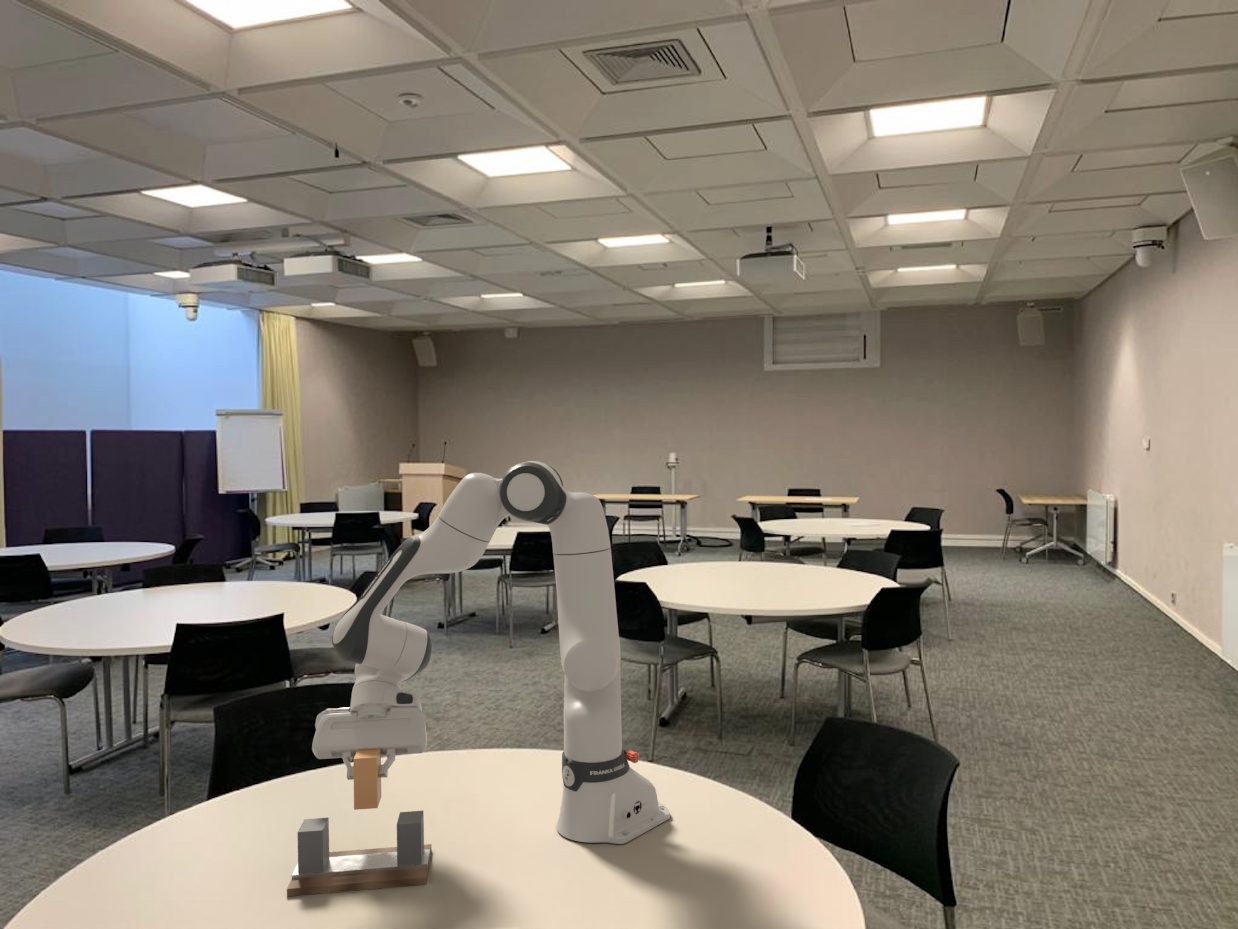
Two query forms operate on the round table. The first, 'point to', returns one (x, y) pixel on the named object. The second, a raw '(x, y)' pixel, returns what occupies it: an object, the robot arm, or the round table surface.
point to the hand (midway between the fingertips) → (367, 777)
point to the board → (359, 877)
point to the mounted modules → (317, 842)
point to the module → (367, 779)
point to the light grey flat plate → (363, 864)
